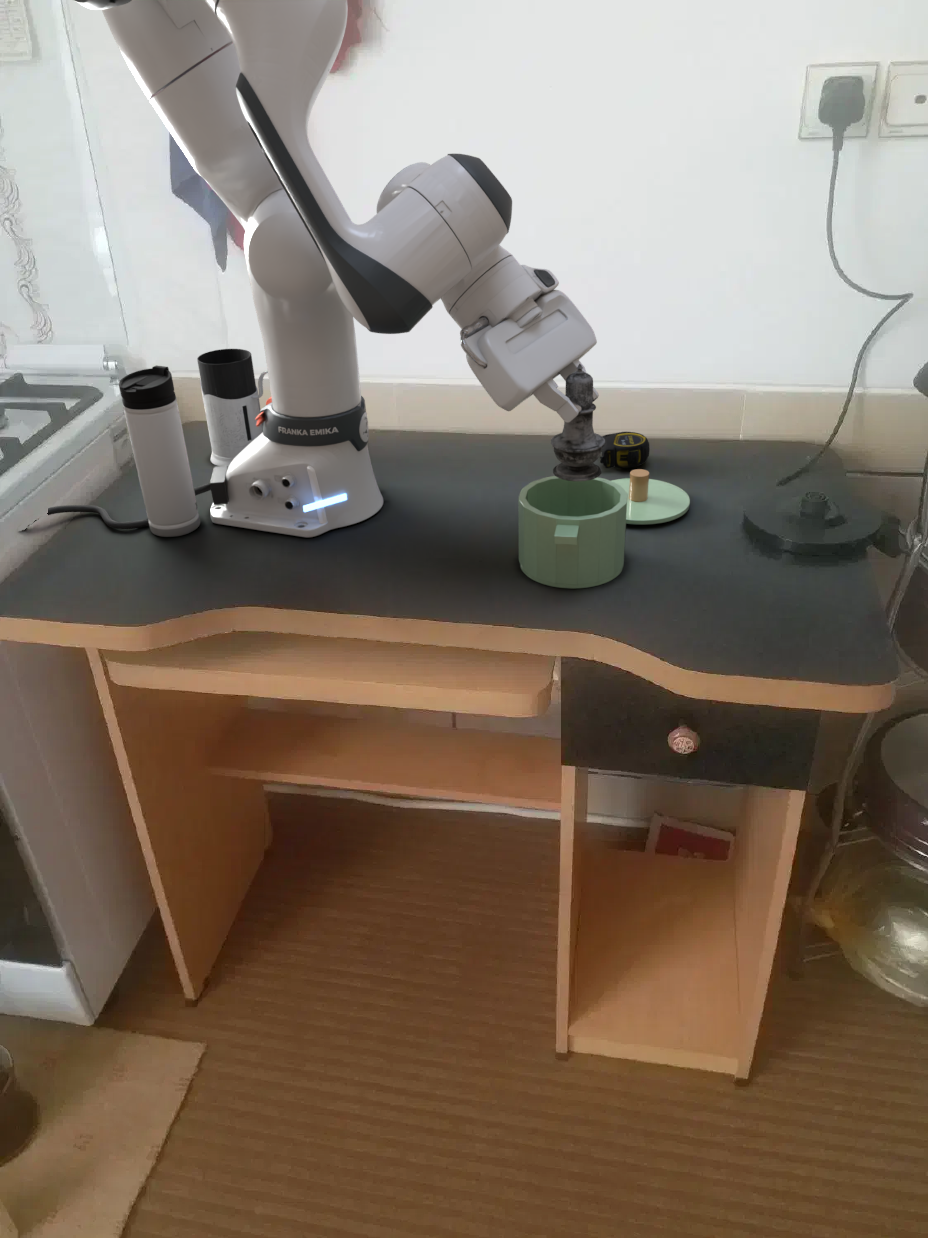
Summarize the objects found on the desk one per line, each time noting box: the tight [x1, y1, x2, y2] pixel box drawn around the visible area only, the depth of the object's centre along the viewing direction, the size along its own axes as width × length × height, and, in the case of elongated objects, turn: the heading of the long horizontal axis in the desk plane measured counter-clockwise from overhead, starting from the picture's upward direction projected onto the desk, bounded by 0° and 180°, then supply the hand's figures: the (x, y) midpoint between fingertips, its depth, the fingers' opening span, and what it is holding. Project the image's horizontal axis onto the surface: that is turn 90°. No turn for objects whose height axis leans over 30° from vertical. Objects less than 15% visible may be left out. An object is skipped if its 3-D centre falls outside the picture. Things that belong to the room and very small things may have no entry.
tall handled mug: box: [196, 348, 268, 467], centre depth 142 cm, size 9×14×15 cm, turn 65°
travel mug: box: [118, 365, 201, 538], centre depth 121 cm, size 6×7×20 cm
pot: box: [517, 475, 628, 589], centre depth 112 cm, size 12×17×8 cm
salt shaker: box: [550, 364, 605, 481], centre depth 105 cm, size 6×6×12 cm
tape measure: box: [599, 431, 650, 469], centre depth 138 cm, size 7×7×4 cm
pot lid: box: [611, 468, 691, 526], centre depth 126 cm, size 13×13×5 cm
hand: (584, 409), depth 104 cm, fingers closed on salt shaker, 3 cm apart
